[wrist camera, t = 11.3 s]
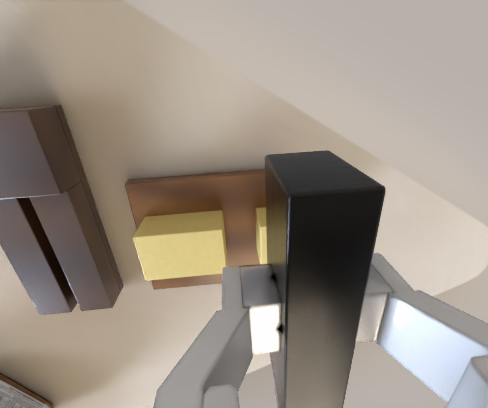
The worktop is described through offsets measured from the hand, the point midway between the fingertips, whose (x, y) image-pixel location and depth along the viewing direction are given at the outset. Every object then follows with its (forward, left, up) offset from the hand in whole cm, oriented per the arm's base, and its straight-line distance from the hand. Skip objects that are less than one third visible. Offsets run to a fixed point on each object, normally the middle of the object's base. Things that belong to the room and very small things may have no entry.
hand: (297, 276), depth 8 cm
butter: (+7, -6, -15) cm, 18 cm away
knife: (+4, 0, -4) cm, 6 cm away
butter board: (+8, -4, -16) cm, 18 cm away
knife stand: (+4, -18, -16) cm, 25 cm away
